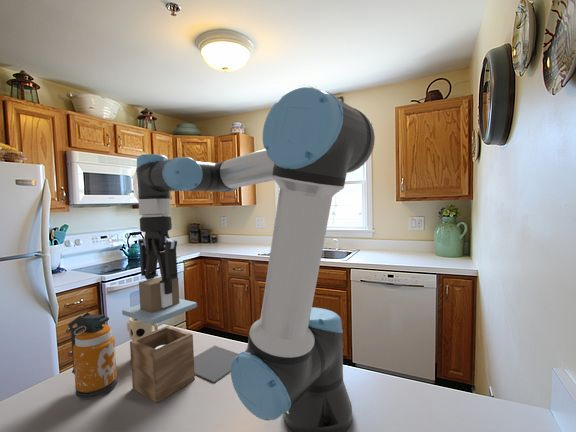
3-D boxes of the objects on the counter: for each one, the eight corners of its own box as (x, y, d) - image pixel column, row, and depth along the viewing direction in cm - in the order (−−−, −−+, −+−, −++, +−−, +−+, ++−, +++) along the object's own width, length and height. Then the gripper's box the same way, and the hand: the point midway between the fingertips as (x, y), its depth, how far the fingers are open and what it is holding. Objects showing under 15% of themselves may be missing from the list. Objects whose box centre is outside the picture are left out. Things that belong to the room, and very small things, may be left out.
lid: (197, 311, 79) (195, 276, 78) (152, 329, 68) (149, 289, 68) (167, 303, 86) (166, 272, 86) (122, 319, 75) (120, 282, 75)
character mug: (120, 361, 90) (117, 320, 89) (137, 350, 97) (135, 311, 96) (151, 365, 87) (149, 322, 87) (166, 352, 94) (164, 313, 94)
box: (194, 379, 80) (192, 334, 79) (157, 403, 70) (154, 352, 70) (169, 367, 86) (167, 325, 85) (132, 388, 76) (129, 341, 76)
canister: (97, 403, 71) (92, 322, 70) (60, 398, 73) (54, 320, 72) (125, 381, 80) (120, 308, 79) (90, 377, 82) (86, 307, 81)
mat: (249, 358, 89) (249, 357, 89) (214, 383, 77) (214, 381, 77) (214, 346, 97) (214, 345, 97) (178, 367, 86) (178, 365, 86)
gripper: (190, 214, 74) (194, 305, 75) (149, 215, 84) (153, 295, 85) (163, 216, 68) (168, 315, 69) (122, 216, 78) (127, 303, 79)
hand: (160, 304), depth 77 cm, fingers closed on lid, 5 cm apart
